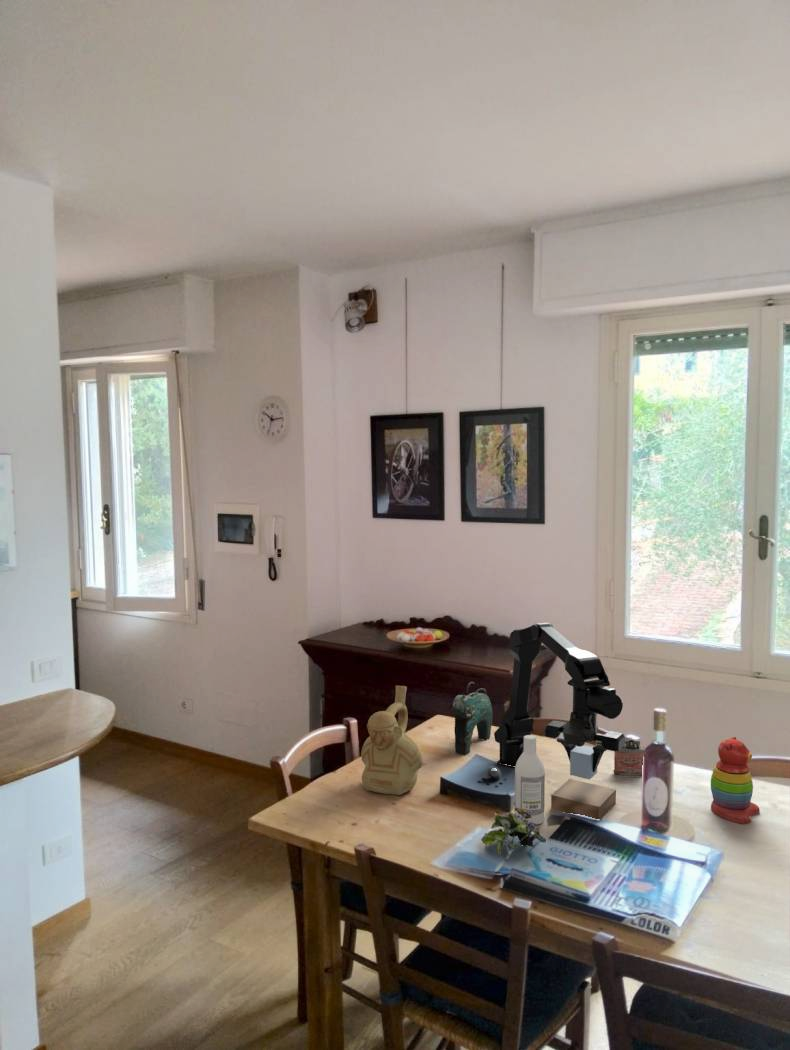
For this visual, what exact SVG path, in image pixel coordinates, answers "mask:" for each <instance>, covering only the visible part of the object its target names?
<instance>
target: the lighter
mask: <svg viewBox="0 0 790 1050" xmlns="http://www.w3.org/2000/svg"><path fill="white" fill-rule="evenodd" d="M640 745H641V740H640V739H636V738H635V739H633V737H628V738H625V745H624V746H623V747H622V748H621V749H620V750H619V751H614V753H613V754H614V755H613V756H614V758H613V760H614V761H613V763H614V764H613V773H614V774H613V775H614V776H616V777H623V776H627V777H628V778H641V776H642V765H643V753H644V754H645V751H644V750H645V749H646V748H645V747H644V746H640ZM637 776H638V777H637ZM627 777H626V778H627Z"/></svg>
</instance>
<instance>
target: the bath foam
mask: <svg viewBox="0 0 790 1050" xmlns="http://www.w3.org/2000/svg"><path fill="white" fill-rule="evenodd" d="M545 776H546V772H545V765H544V763H543V761H542V759H541V757H540V756H539V754H538V752H537V736H535V735H532V734H531V735H526V736H524V752H523V753H522V754H521V756H520V757H519V759H518V761H517V763H516V766H515V768H514V813H515V814H516V815H517V816H518V815H519V816H520V817H521V818H522V815H520V814H519V813H518V812H517V811H516V810H515V808H519V809H520V808H521V809H523V810H524V811H526V812H528V813H529V814H530V815H531V817H532V818H528V819H526V820H528V822H529V823H530V822H532V823H535V824H536V825H535V826H537V825H541V824H542V823H543V822H544V820H545V794H546V793H545V790H546V788H545V786H546V785H545V784H546V783H545V781H546V780H545V779H546V777H545ZM523 820H525V818H524V819H523Z"/></svg>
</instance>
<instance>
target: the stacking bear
mask: <svg viewBox="0 0 790 1050" xmlns="http://www.w3.org/2000/svg"><path fill="white" fill-rule="evenodd" d="M717 754H718V757H719V760H718V761H717V762H716V764H715V765H714V767H713V768H712V772H711V773H712V774H711V778H710V790H711V796H712V799H713V800H712V802H711V805H710V809H711V811H712V812H713V813H714V814H716V815H717V816H718V817H721V818H724V819H726V820H727V821H729V822H734V823H738V824H743V825H744V824H749V823H750V822H751V817H752V816H754V815H758V814H759V813H760V811H761V810H760V807H759V806H758V805H757V804H756V803H754V802H752V797H753V792H754V790H753V789H754V785H753V779H752V775H751V771H750V767H749V765H748V764H749V762H750V761H751V759H752V757H753V756H752V753H751V751H750V750H749V749H748V747H747V746H746V745H745V743H744V742H743V741H741V740H738V739H737V737H736V736H732V737H731V738H729V739H724V740H722V741H721V742H720V743H719V745H718V748H717Z"/></svg>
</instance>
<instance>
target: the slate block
mask: <svg viewBox="0 0 790 1050" xmlns="http://www.w3.org/2000/svg"><path fill="white" fill-rule="evenodd" d="M593 756H594V751H593V747H589V746H585V745H583V746H581V747H579V746H576V747H575V748H574V749H572V750H571V751H570V761H569V763H570V764H569V767H570V769H569V775H570V776H573V777H577V778H581V779H586V780H591V779H592V778H593V777H594V776H596V775H597V774H598V768H597V769H596V771H595V772H593Z"/></svg>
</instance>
